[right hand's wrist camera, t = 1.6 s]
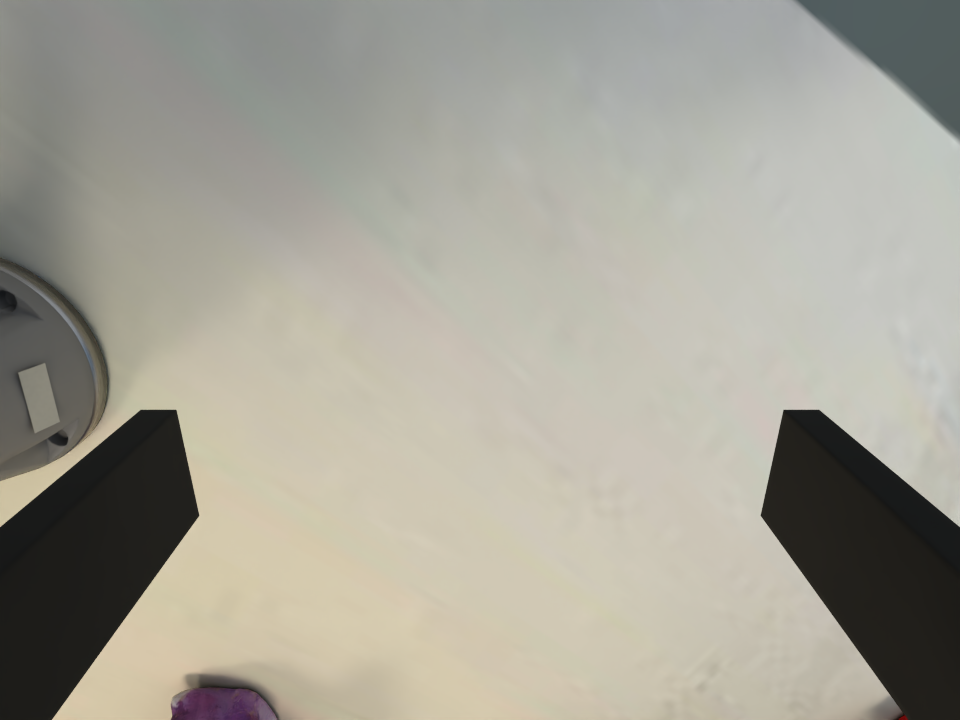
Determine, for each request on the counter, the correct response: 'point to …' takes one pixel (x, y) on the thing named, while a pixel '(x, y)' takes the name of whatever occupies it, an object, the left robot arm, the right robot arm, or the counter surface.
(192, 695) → the figurine
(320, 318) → the counter surface
